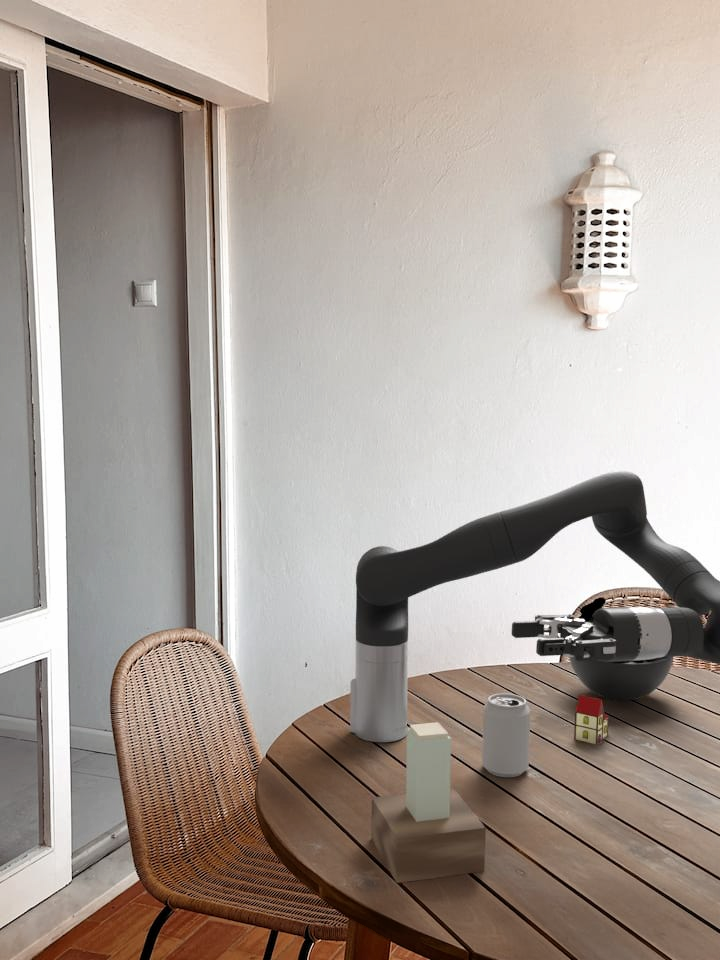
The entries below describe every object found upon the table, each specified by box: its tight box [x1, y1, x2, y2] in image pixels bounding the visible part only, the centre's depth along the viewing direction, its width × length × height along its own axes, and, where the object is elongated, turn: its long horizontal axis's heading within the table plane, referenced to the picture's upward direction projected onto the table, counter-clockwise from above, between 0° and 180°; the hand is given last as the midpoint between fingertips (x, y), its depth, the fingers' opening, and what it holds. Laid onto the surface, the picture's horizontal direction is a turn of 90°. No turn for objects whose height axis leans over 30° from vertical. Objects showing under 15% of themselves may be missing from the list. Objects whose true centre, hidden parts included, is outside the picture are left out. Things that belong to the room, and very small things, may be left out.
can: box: [481, 693, 531, 778], centre depth 160 cm, size 8×8×12 cm
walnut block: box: [370, 788, 487, 884], centre depth 133 cm, size 12×12×6 cm
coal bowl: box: [568, 596, 674, 702], centre depth 194 cm, size 20×20×19 cm
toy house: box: [573, 694, 610, 746], centre depth 175 cm, size 6×7×8 cm
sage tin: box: [405, 721, 452, 822], centre depth 132 cm, size 5×5×12 cm
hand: (524, 638), depth 137 cm, fingers open, 8 cm apart
